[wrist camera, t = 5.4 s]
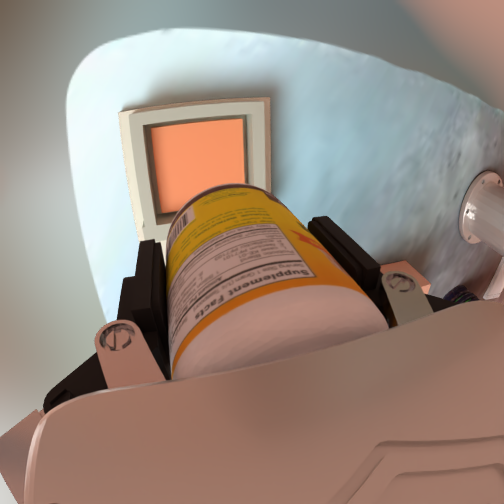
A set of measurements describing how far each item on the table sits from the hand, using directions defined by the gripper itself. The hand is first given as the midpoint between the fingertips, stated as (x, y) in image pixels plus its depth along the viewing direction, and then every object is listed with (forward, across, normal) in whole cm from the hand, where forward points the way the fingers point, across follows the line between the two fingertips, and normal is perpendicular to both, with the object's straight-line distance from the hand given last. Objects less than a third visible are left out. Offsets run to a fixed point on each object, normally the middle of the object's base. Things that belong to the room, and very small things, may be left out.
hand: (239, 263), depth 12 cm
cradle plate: (+17, 0, 0) cm, 17 cm away
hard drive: (+18, -63, +26) cm, 70 cm away
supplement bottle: (+2, 0, 0) cm, 2 cm away
